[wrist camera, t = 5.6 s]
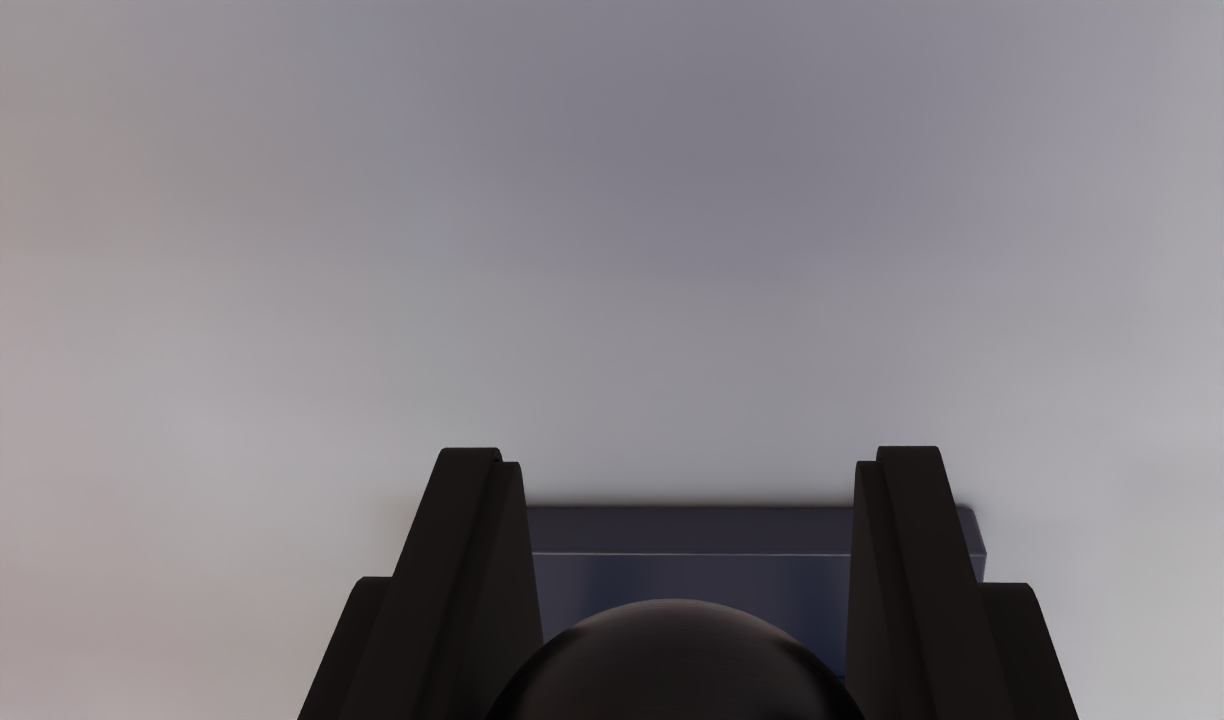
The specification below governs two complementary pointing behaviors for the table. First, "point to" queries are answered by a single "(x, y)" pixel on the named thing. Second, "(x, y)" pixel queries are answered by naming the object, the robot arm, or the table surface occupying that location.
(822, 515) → the switch bracket
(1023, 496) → the table surface
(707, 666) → the lever
